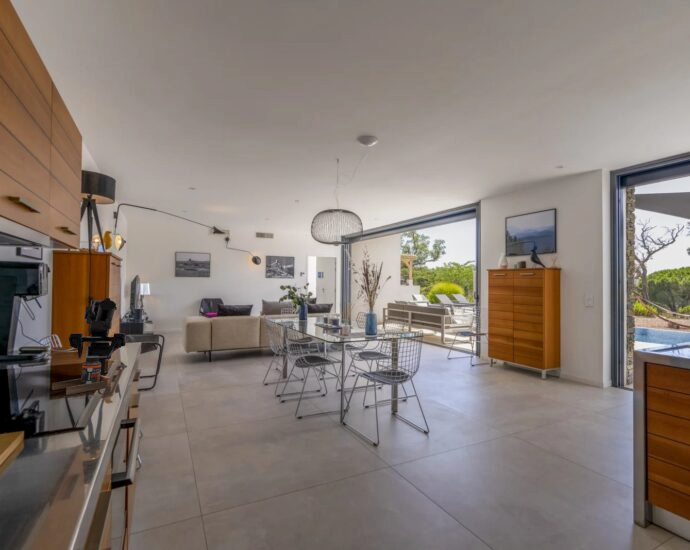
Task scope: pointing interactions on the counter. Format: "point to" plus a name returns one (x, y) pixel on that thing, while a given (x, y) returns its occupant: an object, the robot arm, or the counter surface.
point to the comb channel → (76, 386)
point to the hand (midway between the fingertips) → (93, 357)
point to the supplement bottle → (91, 370)
